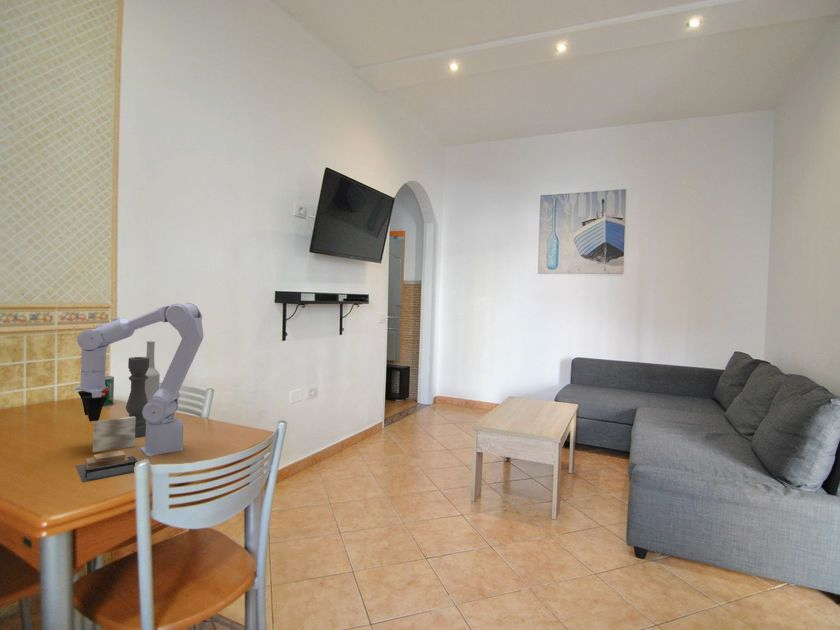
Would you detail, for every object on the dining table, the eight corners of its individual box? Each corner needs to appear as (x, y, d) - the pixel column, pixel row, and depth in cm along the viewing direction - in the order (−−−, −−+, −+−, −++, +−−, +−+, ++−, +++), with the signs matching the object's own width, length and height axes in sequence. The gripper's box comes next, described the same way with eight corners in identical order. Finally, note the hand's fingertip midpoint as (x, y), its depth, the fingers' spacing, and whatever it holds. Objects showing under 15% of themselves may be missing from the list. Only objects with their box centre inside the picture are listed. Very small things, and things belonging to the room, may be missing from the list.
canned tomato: (112, 402, 184) (113, 375, 184) (114, 406, 178) (115, 378, 178) (88, 404, 179) (89, 376, 179) (89, 408, 173) (90, 379, 173)
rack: (133, 457, 126) (133, 450, 126) (144, 472, 117) (145, 464, 117) (75, 467, 117) (75, 459, 117) (82, 484, 108) (82, 475, 108)
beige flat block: (133, 446, 135) (134, 416, 135) (134, 447, 134) (135, 417, 134) (92, 452, 128) (93, 421, 128) (93, 453, 127) (94, 422, 127)
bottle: (133, 418, 163) (135, 341, 162) (149, 414, 169) (152, 340, 169) (146, 420, 161) (149, 342, 160) (162, 416, 167) (165, 341, 167)
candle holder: (136, 439, 141) (139, 360, 140) (119, 437, 142) (122, 358, 141) (152, 434, 147) (155, 357, 146) (135, 431, 148) (138, 356, 148)
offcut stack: (125, 458, 124) (125, 449, 124) (128, 462, 121) (129, 454, 121) (84, 464, 118) (85, 455, 118) (87, 470, 115) (87, 461, 115)
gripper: (72, 367, 132) (70, 414, 132) (79, 375, 121) (77, 425, 122) (101, 366, 137) (100, 410, 137) (110, 373, 126) (109, 422, 126)
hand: (91, 417), depth 130 cm, fingers open, 7 cm apart
